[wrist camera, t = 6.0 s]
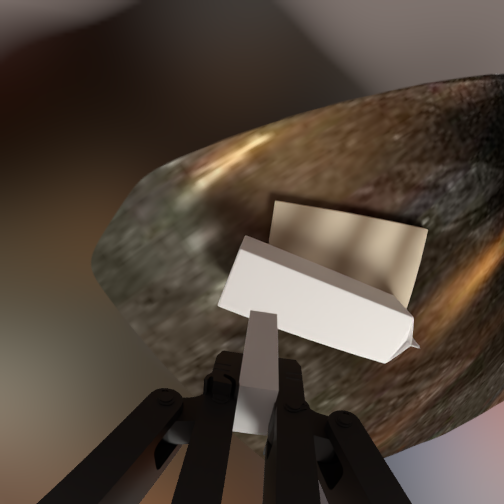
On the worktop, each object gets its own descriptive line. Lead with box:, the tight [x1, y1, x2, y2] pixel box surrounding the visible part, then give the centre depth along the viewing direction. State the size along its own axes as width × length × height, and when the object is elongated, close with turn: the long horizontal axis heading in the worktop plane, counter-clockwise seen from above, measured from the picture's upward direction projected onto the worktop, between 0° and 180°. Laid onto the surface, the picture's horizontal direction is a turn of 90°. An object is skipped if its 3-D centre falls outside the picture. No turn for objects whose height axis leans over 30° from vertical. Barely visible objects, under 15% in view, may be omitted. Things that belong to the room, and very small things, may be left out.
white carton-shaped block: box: [218, 235, 420, 363], centre depth 30 cm, size 6×6×22 cm
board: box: [268, 200, 428, 309], centre depth 33 cm, size 18×12×1 cm, turn 82°
